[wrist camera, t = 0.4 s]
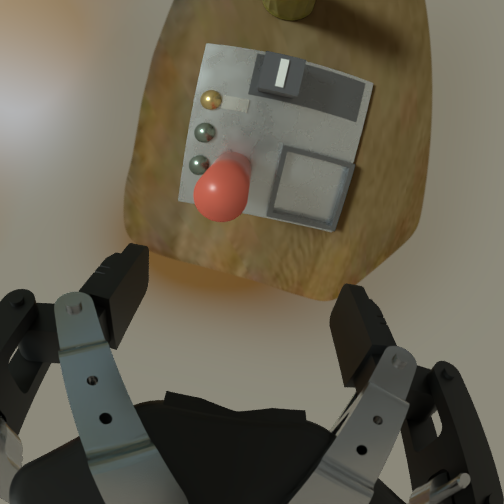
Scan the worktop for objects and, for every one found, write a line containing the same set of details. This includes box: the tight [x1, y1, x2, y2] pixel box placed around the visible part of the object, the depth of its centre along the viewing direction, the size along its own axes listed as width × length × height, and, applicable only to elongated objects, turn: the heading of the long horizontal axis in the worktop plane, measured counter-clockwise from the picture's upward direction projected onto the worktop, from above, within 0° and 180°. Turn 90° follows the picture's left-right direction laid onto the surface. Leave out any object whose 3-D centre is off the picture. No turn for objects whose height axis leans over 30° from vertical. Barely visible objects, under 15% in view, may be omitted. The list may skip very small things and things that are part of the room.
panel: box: [178, 43, 373, 232], centre depth 32 cm, size 20×20×2 cm
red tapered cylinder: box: [193, 152, 251, 222], centre depth 29 cm, size 5×5×11 cm
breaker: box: [258, 51, 306, 99], centre depth 26 cm, size 4×4×5 cm
